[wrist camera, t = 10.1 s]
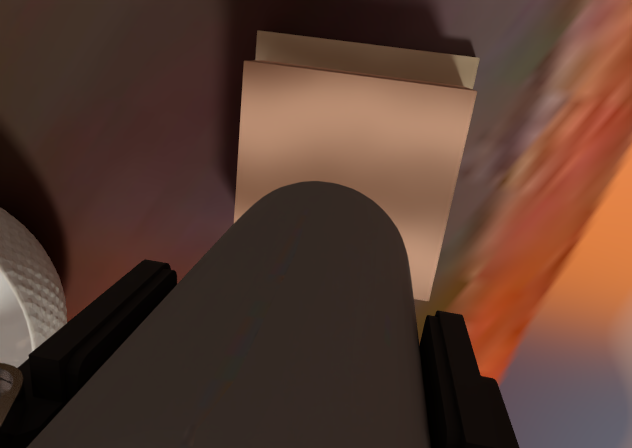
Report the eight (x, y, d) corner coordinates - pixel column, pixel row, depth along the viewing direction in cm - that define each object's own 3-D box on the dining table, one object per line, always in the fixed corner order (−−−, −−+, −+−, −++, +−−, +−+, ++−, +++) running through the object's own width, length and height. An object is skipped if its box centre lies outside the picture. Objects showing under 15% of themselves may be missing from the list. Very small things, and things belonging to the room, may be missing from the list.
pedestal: (261, 31, 27) (235, 25, 22) (476, 58, 26) (496, 57, 21) (245, 254, 31) (221, 289, 27) (425, 285, 30) (432, 326, 26)
